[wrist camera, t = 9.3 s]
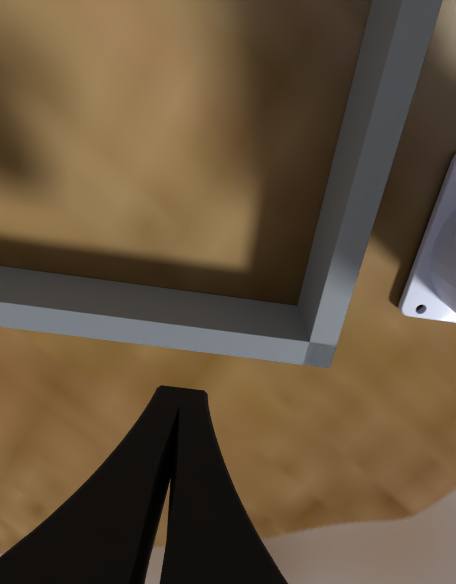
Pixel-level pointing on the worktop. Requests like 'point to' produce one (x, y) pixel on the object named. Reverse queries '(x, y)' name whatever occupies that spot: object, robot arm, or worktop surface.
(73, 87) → the worktop surface
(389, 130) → the cubby
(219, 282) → the worktop surface
